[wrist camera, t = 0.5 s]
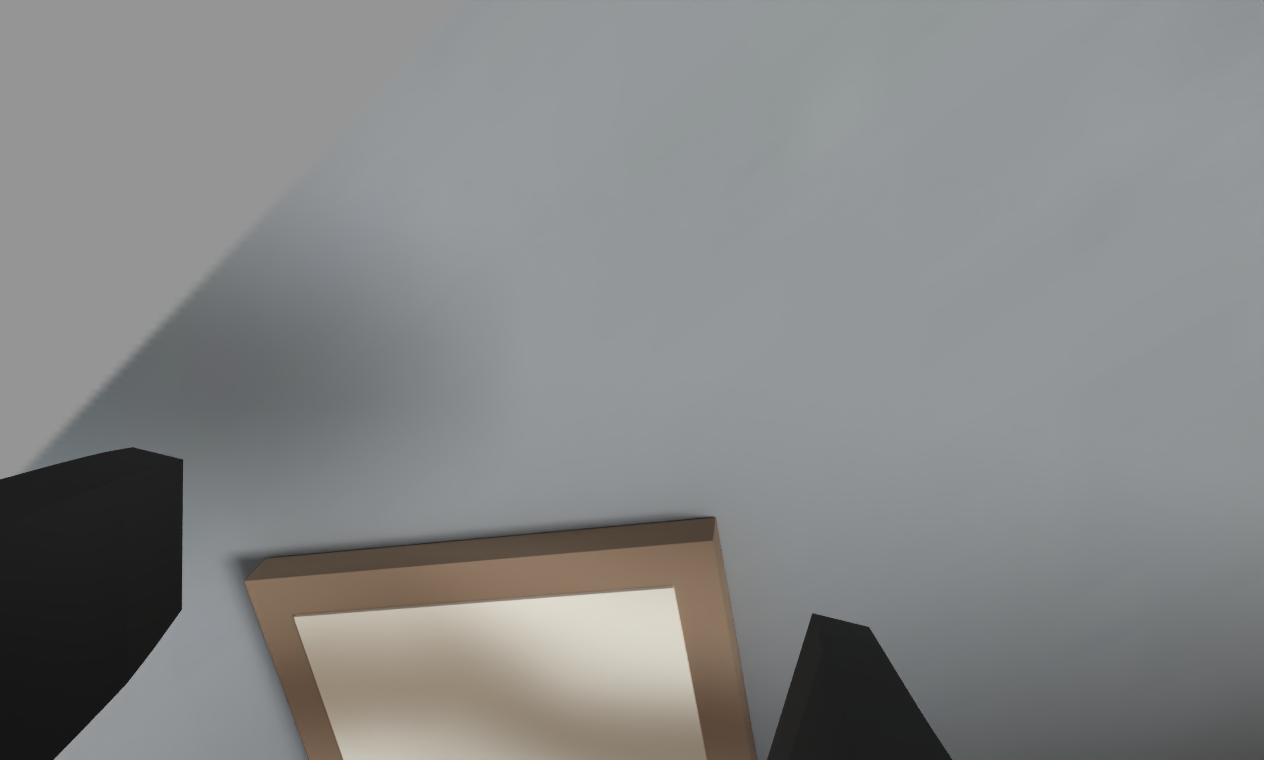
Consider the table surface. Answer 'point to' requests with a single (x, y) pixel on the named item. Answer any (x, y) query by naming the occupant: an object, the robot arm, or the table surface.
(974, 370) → the table surface
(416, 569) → the brown picture frame
